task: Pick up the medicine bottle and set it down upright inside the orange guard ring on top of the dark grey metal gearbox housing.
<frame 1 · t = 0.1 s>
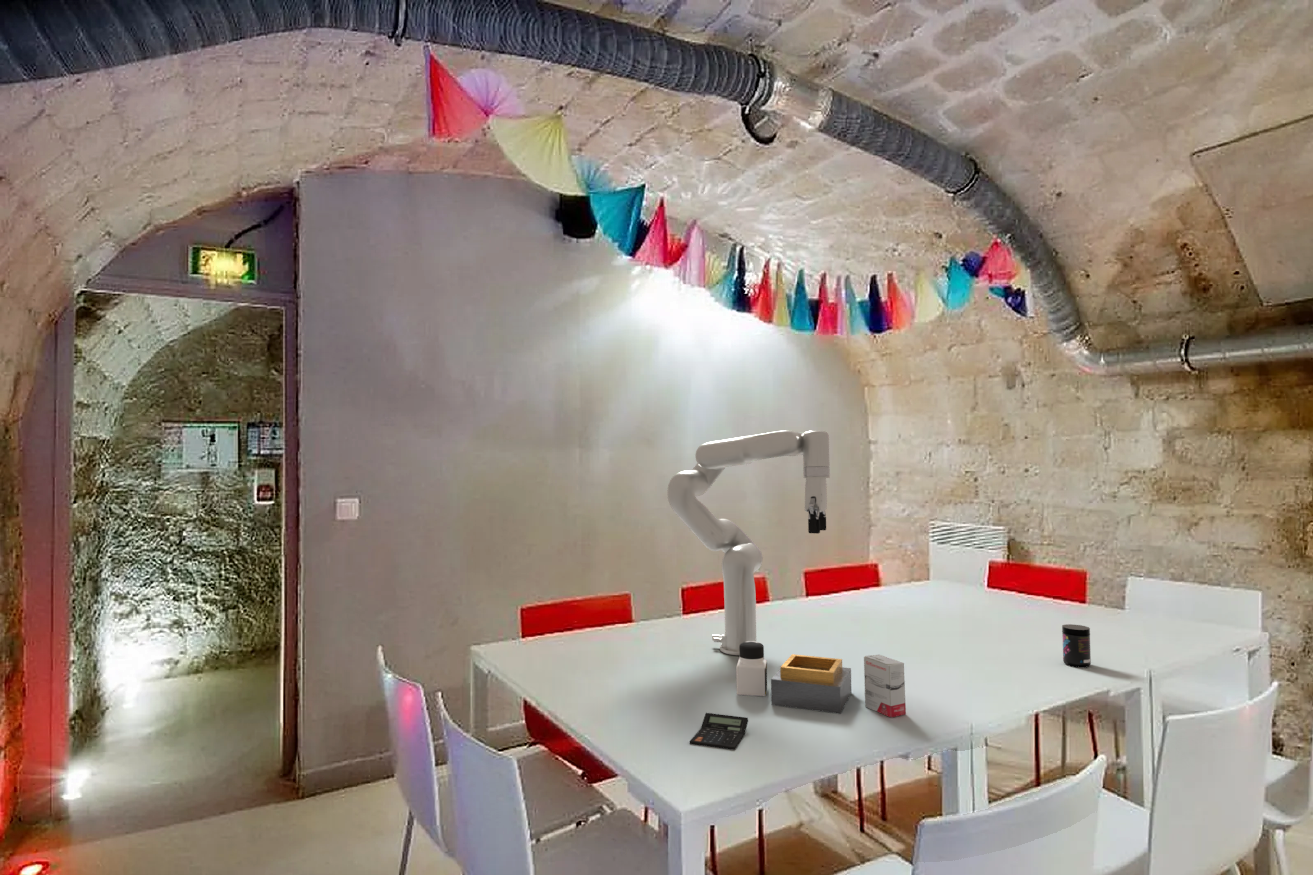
hand: (817, 531, 209), 37 cm above the table, tool pointing down, fingers open, 9 cm apart
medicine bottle: (752, 692, 178), on the table
gearbox housing: (812, 698, 172), on the table
ink box: (885, 711, 164), on the table
supplement container: (1076, 665, 199), on the table
calculator: (719, 739, 149), on the table
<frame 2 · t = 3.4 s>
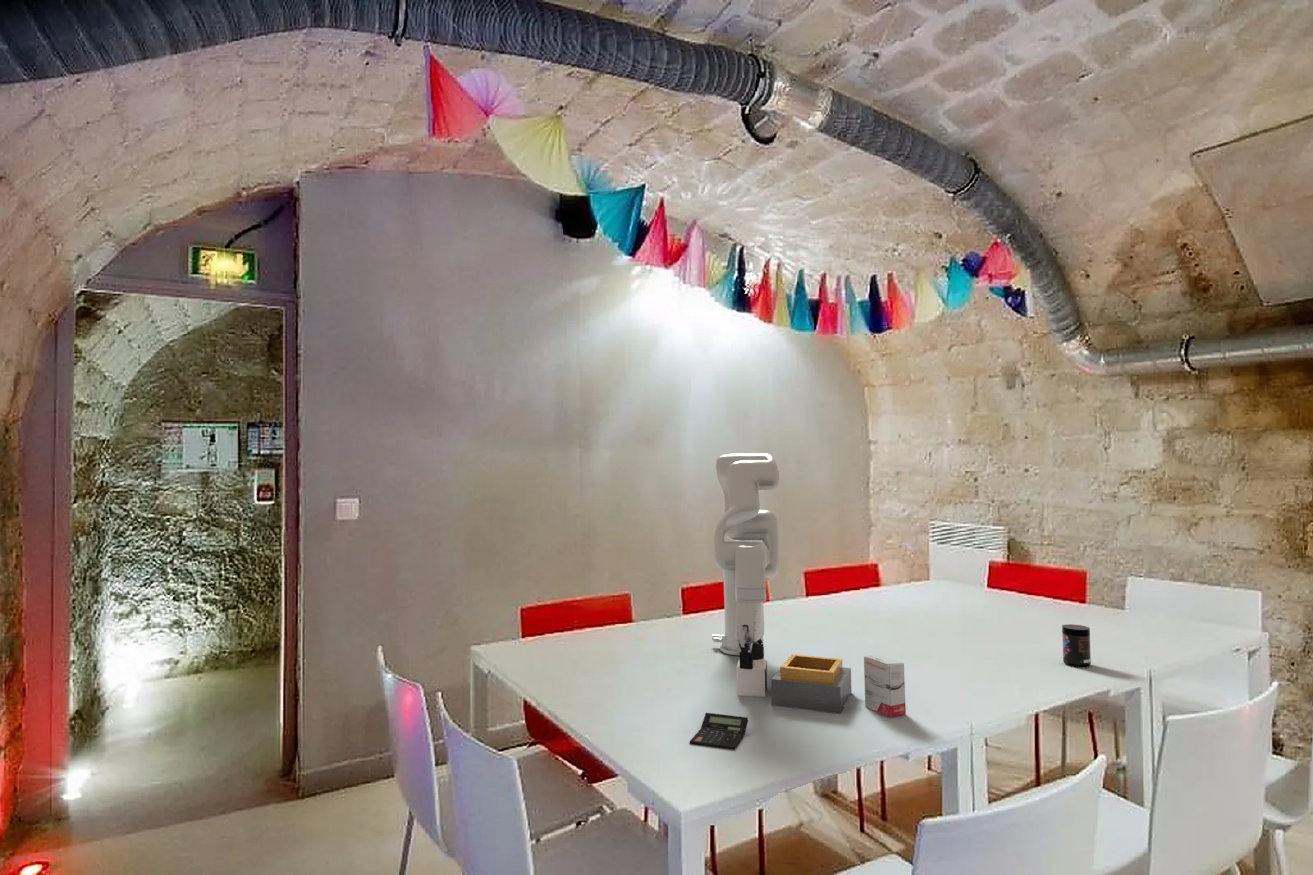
hand: (751, 664, 178), 7 cm above the table, tool pointing down, fingers open, 9 cm apart
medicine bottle: (752, 693, 178), on the table, touching gripper
everything else where it was.
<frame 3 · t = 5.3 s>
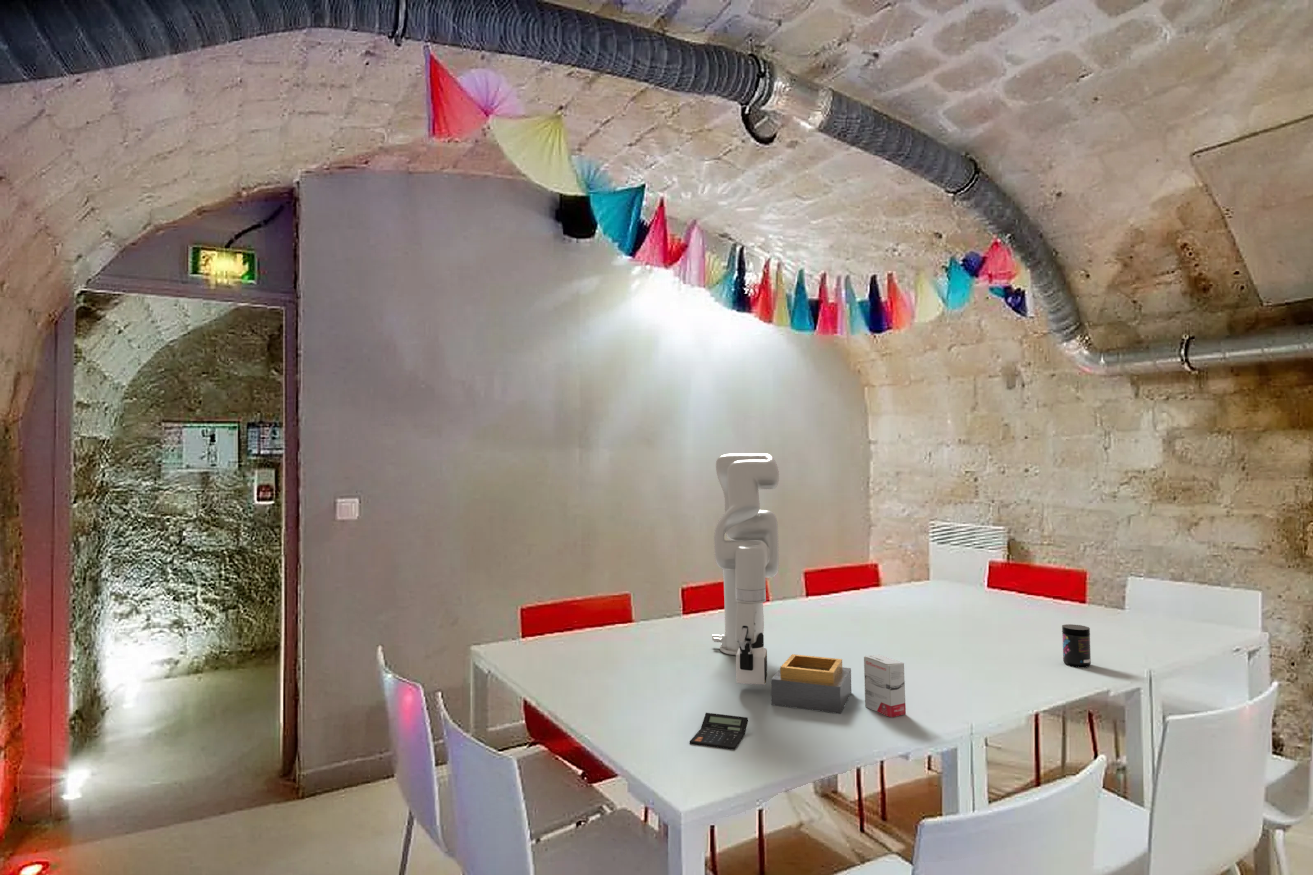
hand: (751, 664, 179), 6 cm above the table, tool pointing down, fingers closed on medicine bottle, 8 cm apart
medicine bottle: (752, 680, 179), point 2 cm above the table, touching gripper
everything else where it was.
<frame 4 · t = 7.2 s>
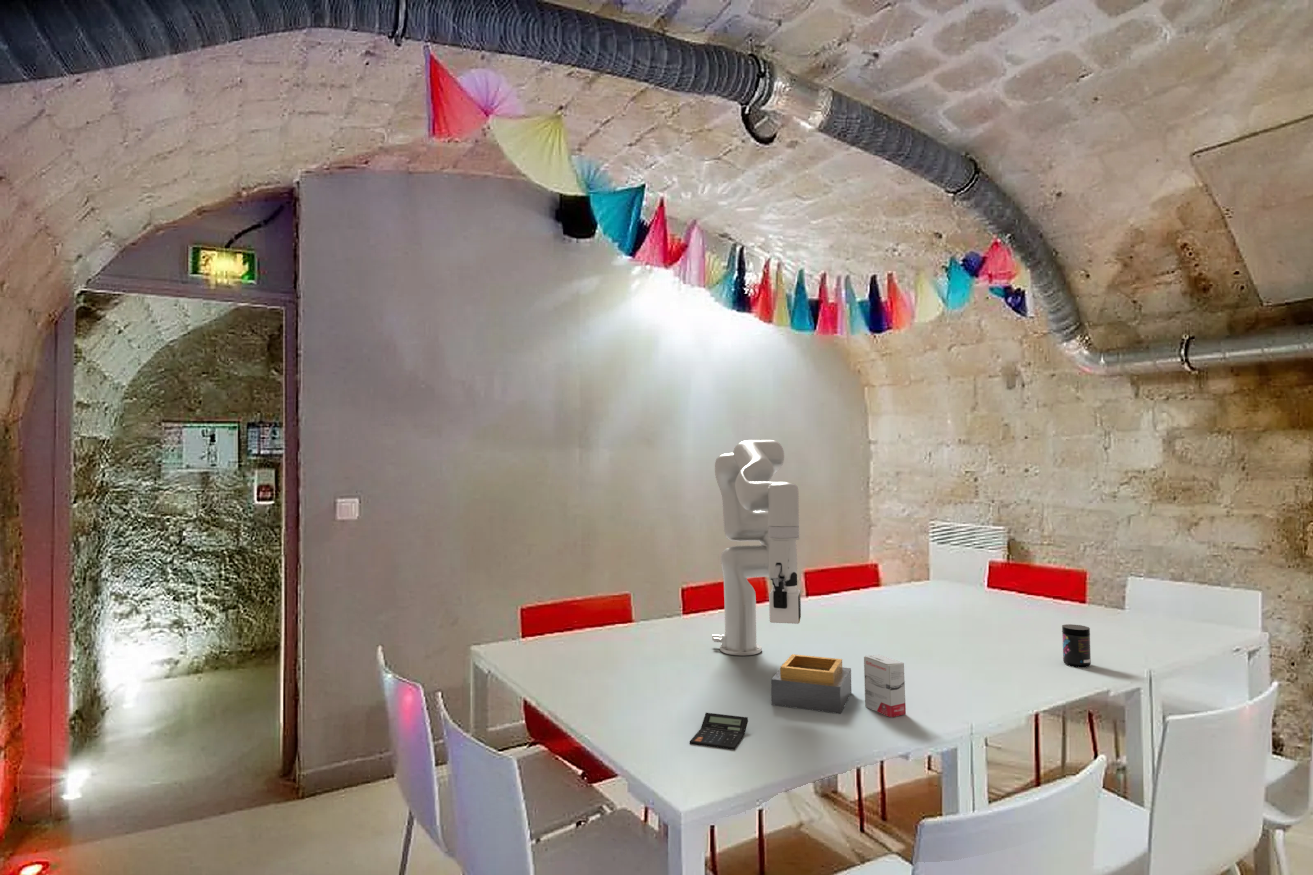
hand: (785, 604, 176), 22 cm above the table, tool pointing down, fingers closed on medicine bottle, 8 cm apart
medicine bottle: (785, 621, 175), point 18 cm above the table, touching gripper
everything else where it was.
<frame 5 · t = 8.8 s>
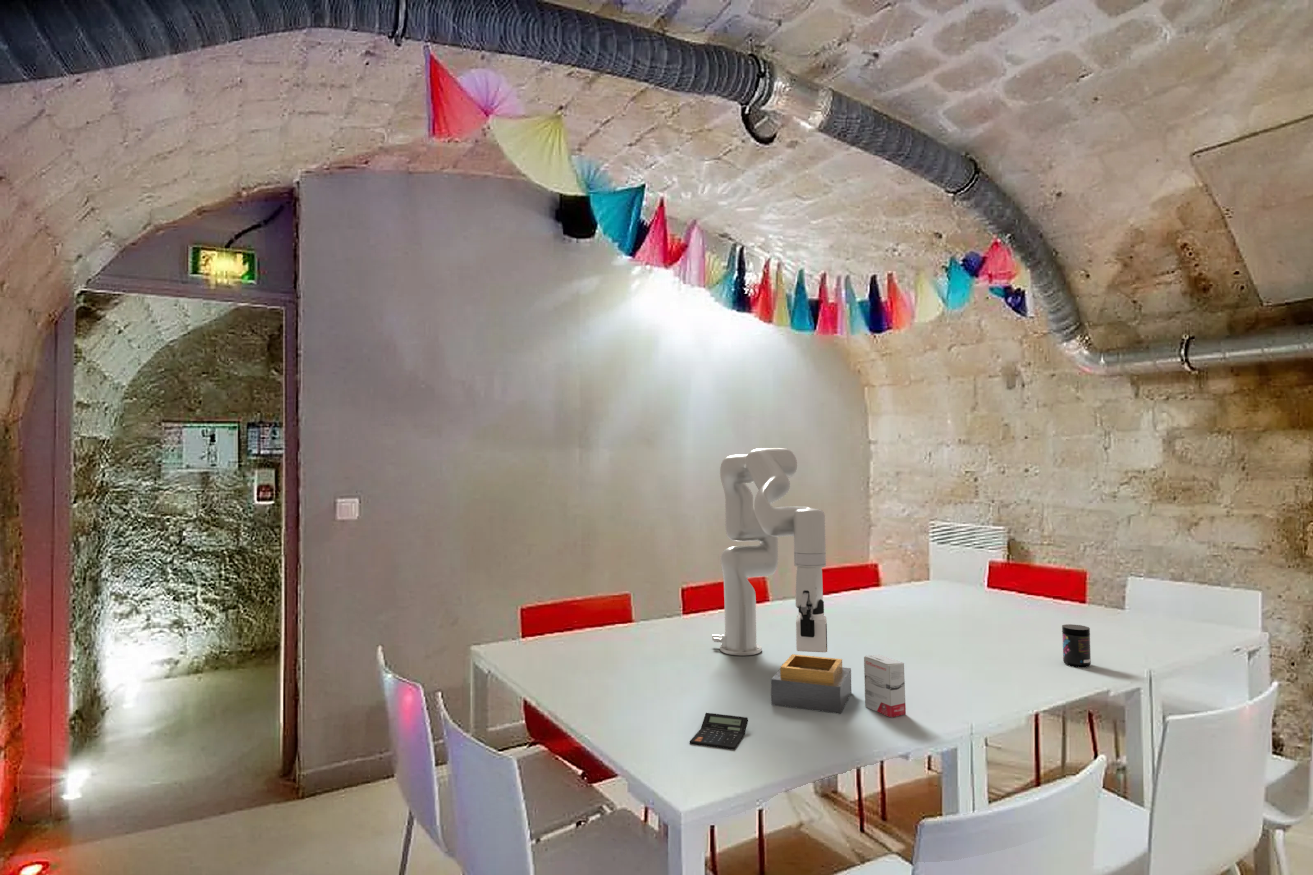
hand: (811, 632, 173), 16 cm above the table, tool pointing down, fingers closed on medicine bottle, 8 cm apart
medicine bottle: (811, 649, 173), point 12 cm above the table, touching gripper
everything else where it was.
when the fingers open (11 cm above the table, at t = 10.3 s): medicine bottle stays where it is, resting on gearbox housing.
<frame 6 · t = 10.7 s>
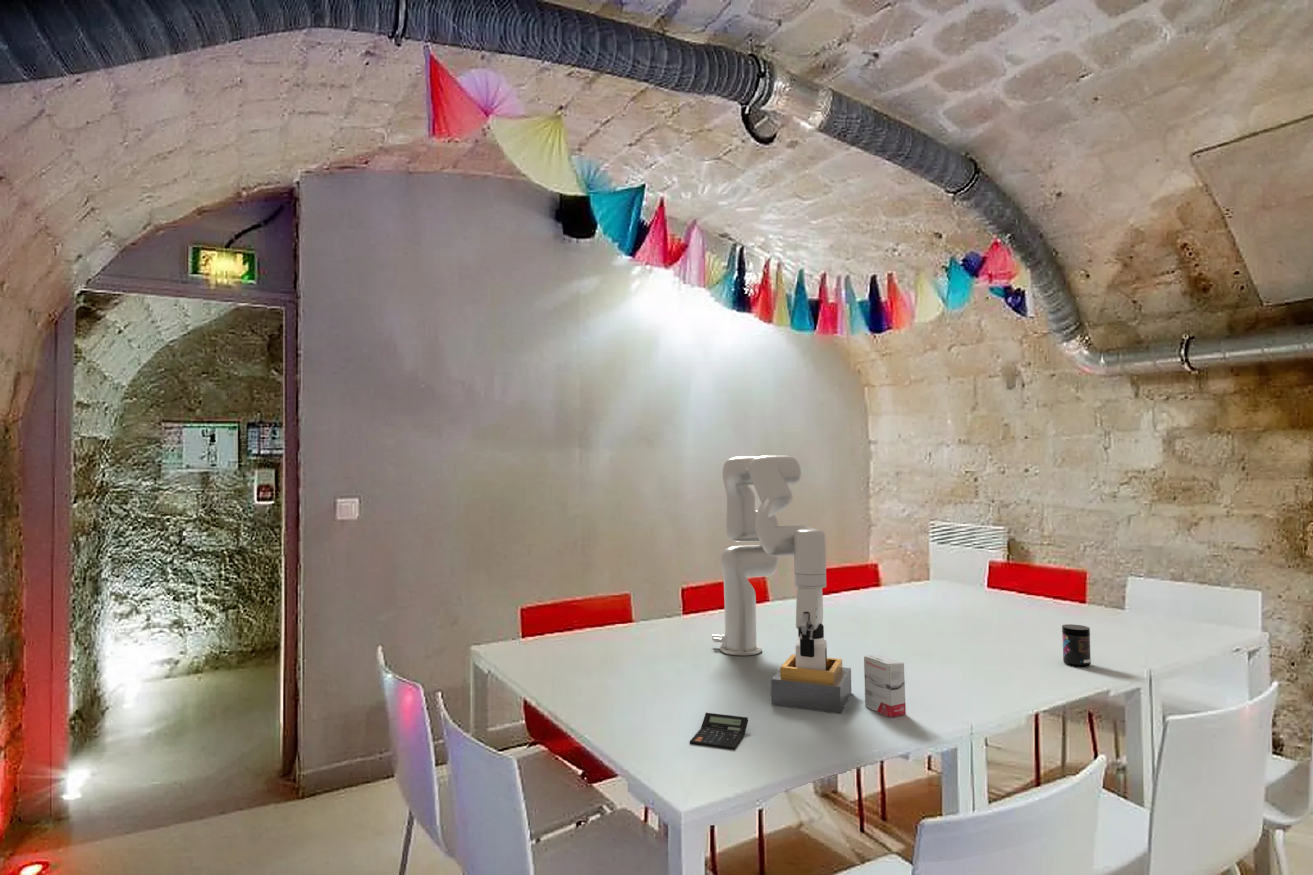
hand: (811, 651, 173), 11 cm above the table, tool pointing down, fingers open, 9 cm apart
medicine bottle: (811, 673, 173), point 6 cm above the table, touching gearbox housing
everything else where it was.
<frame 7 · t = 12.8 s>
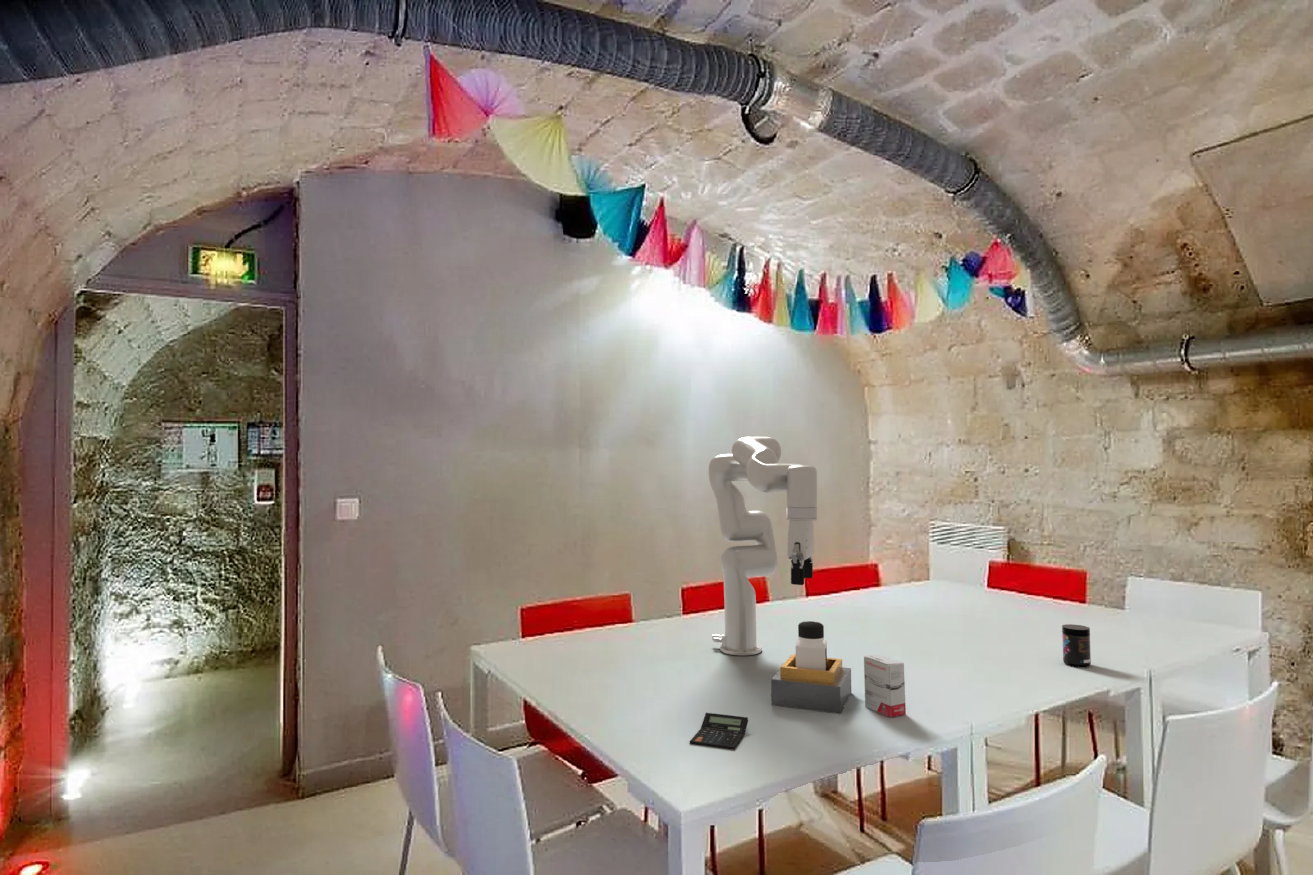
hand: (802, 581, 182), 27 cm above the table, tool pointing down, fingers open, 9 cm apart
nothing on the table moved.
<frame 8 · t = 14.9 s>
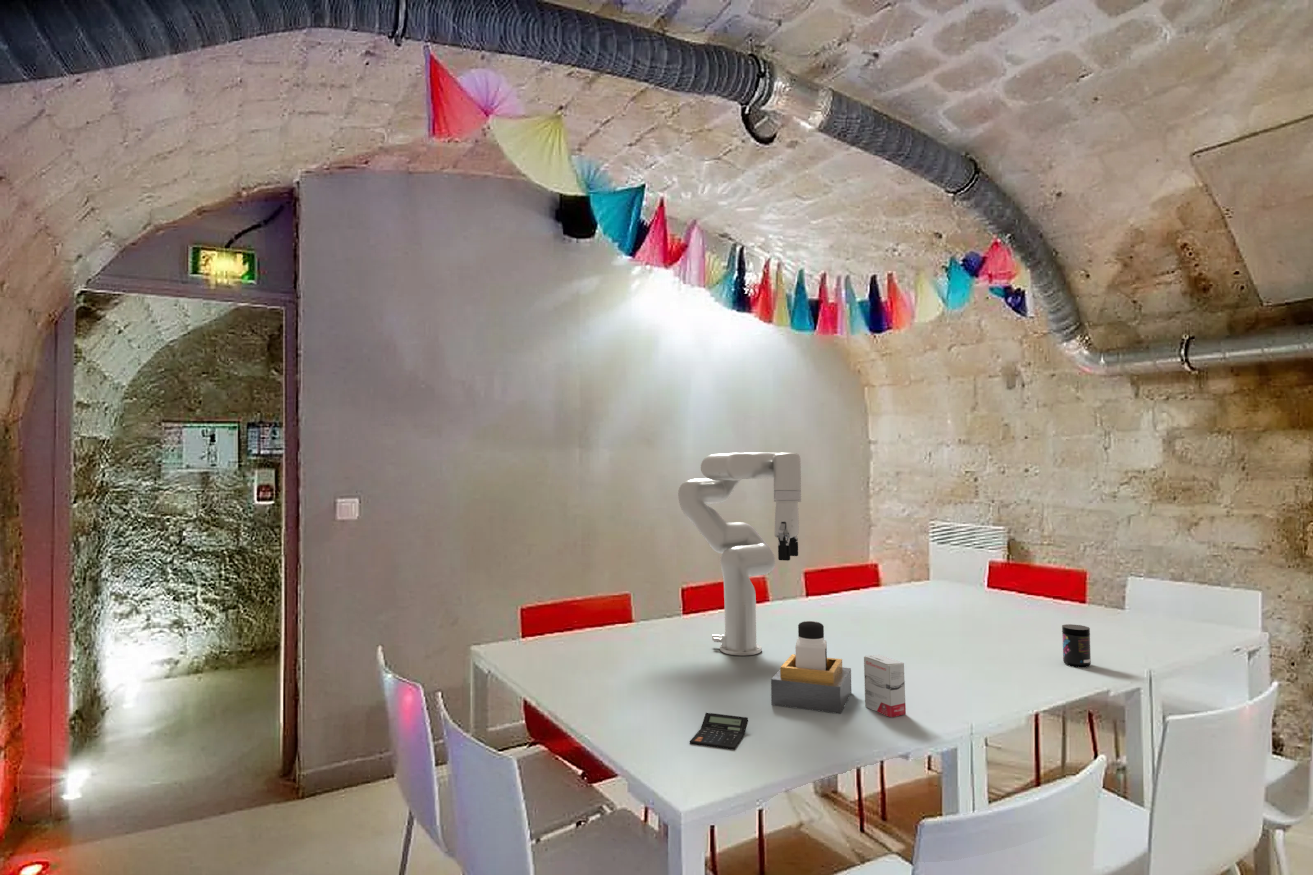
hand: (788, 558, 200), 30 cm above the table, tool pointing down, fingers open, 9 cm apart
nothing on the table moved.
at the end: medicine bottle 0.1 cm off-centre on the gearbox housing, point 6.0 cm above the gearbox housing's base; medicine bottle tilted 0°; the gripper is holding nothing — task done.
